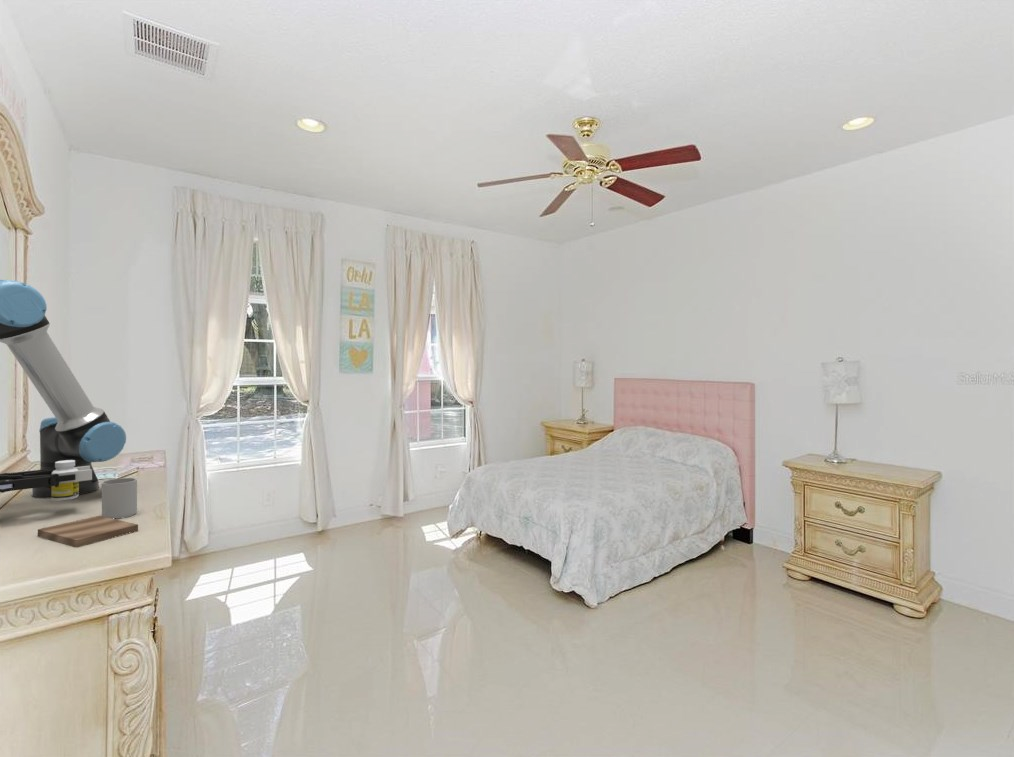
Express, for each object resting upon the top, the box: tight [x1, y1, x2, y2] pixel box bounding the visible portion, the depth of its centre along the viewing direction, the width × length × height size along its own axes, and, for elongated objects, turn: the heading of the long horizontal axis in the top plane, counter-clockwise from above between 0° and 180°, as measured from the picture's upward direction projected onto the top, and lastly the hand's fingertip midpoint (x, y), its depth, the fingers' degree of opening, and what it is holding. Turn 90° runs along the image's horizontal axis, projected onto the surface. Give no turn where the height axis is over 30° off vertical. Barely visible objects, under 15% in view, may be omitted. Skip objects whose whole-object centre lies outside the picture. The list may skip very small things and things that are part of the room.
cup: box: [101, 477, 138, 519], centre depth 130 cm, size 7×10×9 cm
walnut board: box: [37, 515, 139, 548], centre depth 115 cm, size 16×12×2 cm
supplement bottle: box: [51, 460, 80, 502], centre depth 131 cm, size 5×5×10 cm
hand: (90, 472), depth 135 cm, fingers closed on supplement bottle, 5 cm apart
